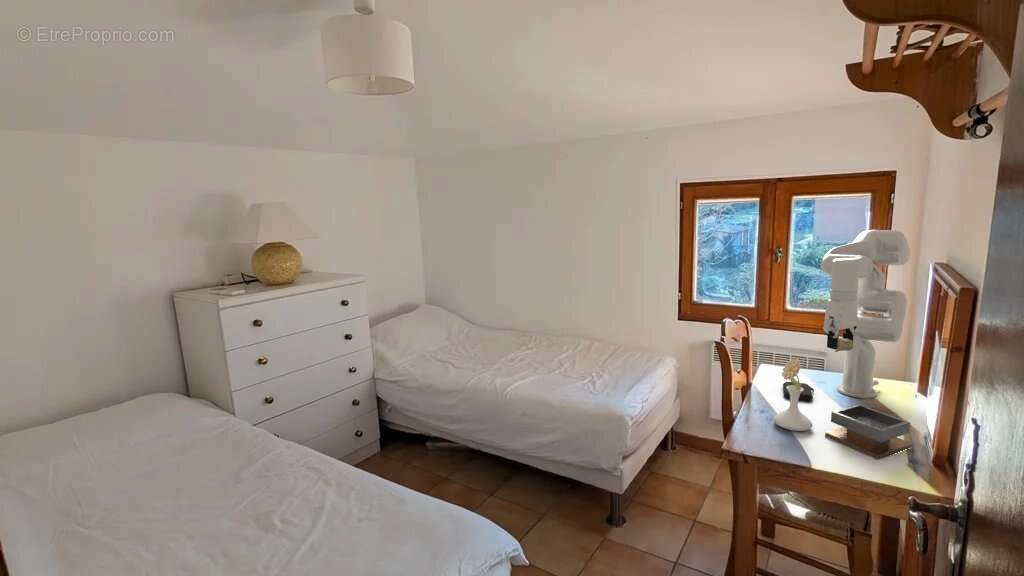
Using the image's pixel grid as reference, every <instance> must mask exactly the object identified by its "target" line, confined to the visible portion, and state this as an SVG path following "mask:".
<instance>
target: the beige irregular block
mask: <svg viewBox="0 0 1024 576" xmlns="http://www.w3.org/2000/svg"><path fill="white" fill-rule="evenodd" d="M833 328H835V327H833ZM832 332H833V333H834V332H835V331H834V330H832ZM836 338H838V344H837V349H836V350H834V353H838V352H841V351H844V352H845V351H850V350H851V349H854V347H853V344H854V342H852V340H849V339H848V338H843V337H842V338H841V337H840V332H838V335H837V337H836Z"/></svg>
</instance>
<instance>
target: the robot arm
mask: <svg viewBox="0 0 1024 576" xmlns="http://www.w3.org/2000/svg"><path fill="white" fill-rule="evenodd" d="M910 258H911V249H910V245H909V242H908V239H907V237H906V235H905V234H904V232H902V231H900V230H896V229H885V230H884V229H882V230H881V229H871V230H864V231H862V232H861V233H859V234H858V235H857V237H856V238H855V239H854V240H853V242H849V243H847V244H846V243H845V244H843V245H839V246H836V247H833V248H832V249H830V250H828V252H827V253H826V254H825V255H824V256H823V259H822V261H821V263H820V264H821V265H820V267H821V271H822V273H823V274H824V275H826V276H829V277H830V289H829V299H828V301H827V304H826V309H825V313H824V314H825V315H824V321H823V326H822V329H823V331H824V333H825V336H826V338H827V340H826V348H828V349H832V350H834V351H836V349H837V344H838V338H836V337H837V335H838V332H839V331H842V330H843V331H844V332H842V338H848V339H849V340H852V342H854V344H853V347H854V349H851V350H850V351H844V361H843V374H842V383H841V384H839V385H837V387H836V388H837V389H836V390H837V391H838V392H839V393H841V394H843V395H846V396H848V397H852V398H859V399H872V398H876V397H877V395H878V392H877V390H875V389H874V387H875V386H879V383H880V382H879V380H877V379H876V380H874V372H875V361H876V349H875V347H874V345H873V344H872V342H871V341H876V342H883V343H891V344H893V343H897V342H899V340H900V339H901V336H902V333H903V328H904V323H905V316H906V313H907V311H906V310H907V304H908V301H907V300H908V299H907V295H906V294H905V293H904V292H903V291H902V290H897V289H889V288H888V289H886V288H885V287H886V281H887V280H886V279H887V277H886V276H885V274H884V273H883V272H882V270H881V269H880V268H878V267H877V265H879V266H880V265H881V266H905V265H906V264H907V263H908V261H909V260H910ZM858 311H860V312H864V313H858ZM867 313H869V314H867ZM870 313H872V314H870ZM876 314H877V315H876ZM878 314H879V315H878ZM885 315H887V316H885ZM833 327H835V328H833ZM832 330H834V331H835V332H834V333H833V332H832ZM839 333H840V332H839Z"/></svg>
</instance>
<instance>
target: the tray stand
mask: <svg viewBox="0 0 1024 576" xmlns="http://www.w3.org/2000/svg"><path fill="white" fill-rule="evenodd" d="M830 422H831V423H832V424H834V425H835V424H836V425H838V426H840V427H837V428H835V429H832V430H828V431H825V433H824V434H825V435H824V437H825V438H828V439H830V440H832V441H834V442H837V443H839V444H841V445H843V446H845V447H848V448H849V449H852V450H855V451H857V452H859V453H862V454H863V455H865V456H868V457H870V458H873V459H875V460H876V461H879V460H883V459H884V458H887V457H890V455H891V456H894V455H896V454H895V453H897V454H899V453H898V452H900V451H903V450H905V449H908V448H910V447H912V446H914V443H913V442H910V441H907V440H905V439H902V438H900V437H901V436H905V435H908V434H910V429H911V422H910V421H908V420H905V419H902V418H899V417H897V416H894V415H890V414H887V413H885V412H882V411H880V410H877V409H874V408H871V407H868V406H865V405H863V404H854V405H851V406H847V407H842V408H840V409H836V410H832V411H831V414H830ZM903 452H904V451H903ZM900 453H901V452H900ZM893 454H894V455H893Z"/></svg>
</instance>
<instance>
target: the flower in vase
mask: <svg viewBox="0 0 1024 576" xmlns="http://www.w3.org/2000/svg"><path fill="white" fill-rule="evenodd" d="M801 367H802V365H801V362H800V360H799V359H798V358H797V359H795V358H791V359H790V360H787V361H786V363H785V366H784V367H783V368H782V371H783V372H782V374H781V377H783V380H786V381H787V380H789V382H792V383H793V384H794V385H796V386H787V387H786V388H787V389H788V391H789V393H790V399H789V407H788V408H787V409H785V410H782V411H781V412H779V413H777V414H775V415H774V417H773V421H774V423H775V424H776V425H777V426H779V427H780V428H782V429H786V430H790V431H793V432H806V431H809V430H811V429H812V428H813V427H814V426H813V422H812V421H811V420H810V419H809V418H808V416H806V414H804V413H803V412H801V411H800V409H799V406H798V405H799V400H798V399H799V395H800V393H801V392H802V391H803V390H804V389H803V388H801V383H802V382H800V378H799V375H798V374H800V370H801ZM795 378H796V379H795Z"/></svg>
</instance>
